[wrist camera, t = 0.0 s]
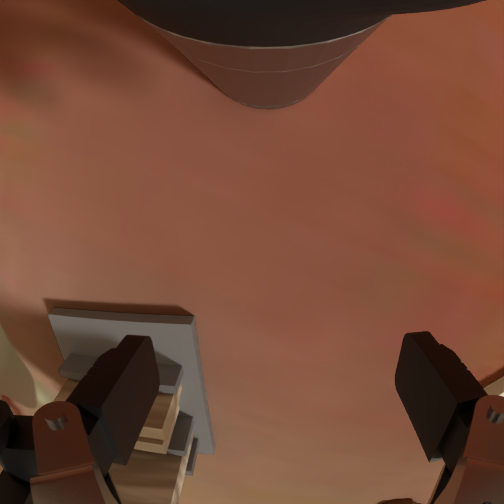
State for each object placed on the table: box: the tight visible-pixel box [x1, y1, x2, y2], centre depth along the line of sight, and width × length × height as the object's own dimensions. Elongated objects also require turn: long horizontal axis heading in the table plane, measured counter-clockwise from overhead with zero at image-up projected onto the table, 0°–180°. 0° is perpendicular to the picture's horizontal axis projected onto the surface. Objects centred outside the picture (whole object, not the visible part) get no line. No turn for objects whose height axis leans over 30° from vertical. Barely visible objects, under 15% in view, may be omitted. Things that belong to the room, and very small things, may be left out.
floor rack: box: [48, 308, 215, 476], centre depth 30 cm, size 20×16×6 cm
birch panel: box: [109, 432, 194, 504], centre depth 24 cm, size 2×12×20 cm, turn 92°
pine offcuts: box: [53, 378, 182, 454], centre depth 28 cm, size 5×12×7 cm, turn 92°
